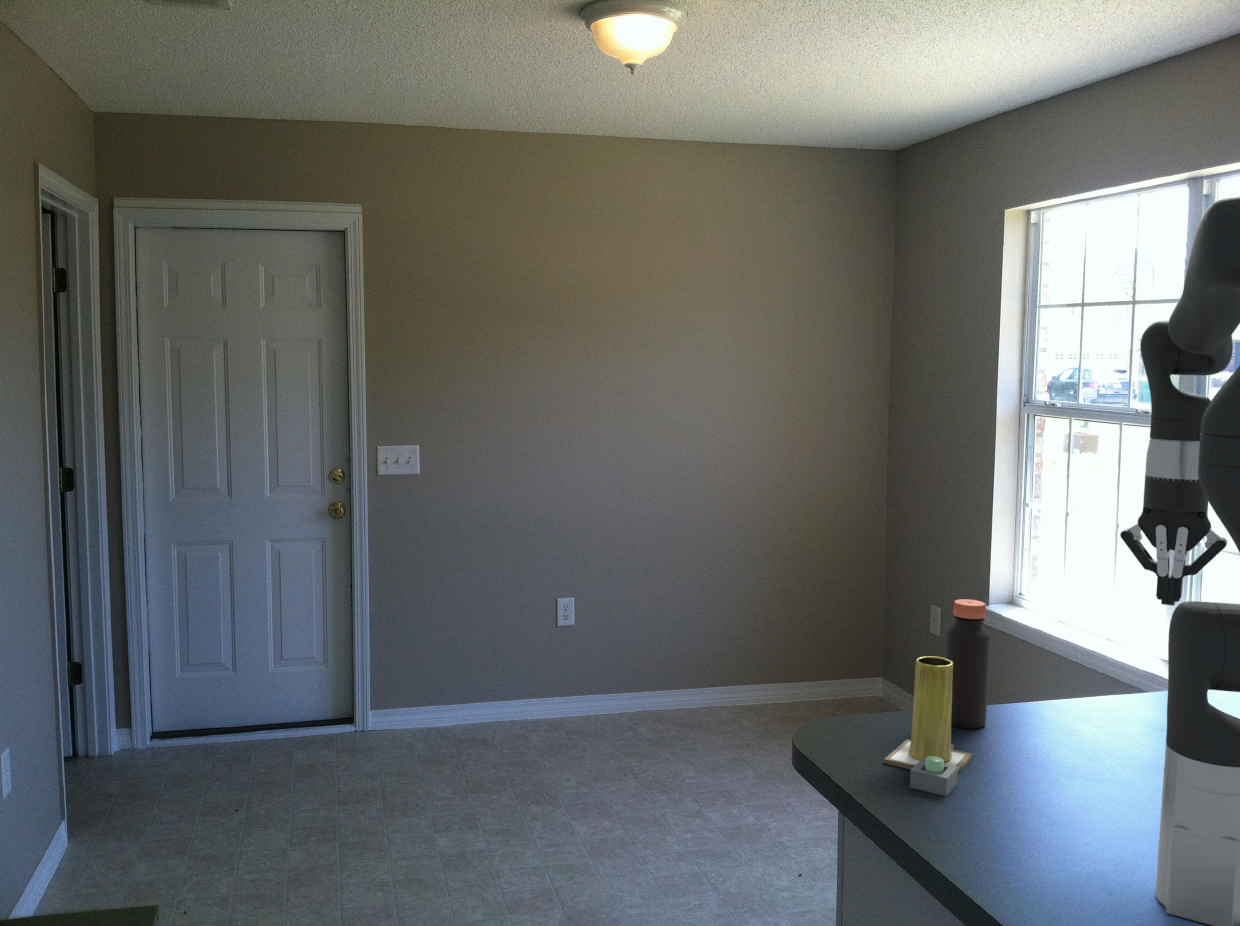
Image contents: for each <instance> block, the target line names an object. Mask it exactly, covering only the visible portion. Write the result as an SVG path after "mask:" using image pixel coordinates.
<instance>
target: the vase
mask: <svg viewBox="0 0 1240 926" xmlns="http://www.w3.org/2000/svg"><path fill="white" fill-rule="evenodd" d="M952 680H953V662H952V661H950V660H948V659H945V657H941V656H930V655H929V656H920V657H917V658H916V660H915V668H914V691H913V692H914V693H913V697H914V698H913V709H912V710H913V711H912V712H913V713H912V728H911V739H910V740H911V744H910V748H909V754H910V755H911V756H912V757H913V758H915V759H918V760H922V759H925V760H926V757H929V756H935V757H939V758H942V759H943V760H944V762H947V761H949V760H950V759H951V758H952V753H951V744H952V726H951V714H952Z"/></svg>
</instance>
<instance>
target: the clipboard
mask: <svg viewBox="0 0 1240 926" xmlns="http://www.w3.org/2000/svg"><path fill="white" fill-rule="evenodd" d="M910 744H911V739H905V740H904V741H903V742H902V743H901V744H900V745H899V746H897V747H896V748H895V749H893V751H892V752H891V753H889V754H888V755H887V756H885V758H884V759H883V764H886V765H890V766H894V767H898V768H899V767H900V768H903V769H908V770H911V769H912V768H913V767H914V766H915V765H916V764H917V763H918V762H919V761H920V760H918V759H915V758H913V757H912V756H911V755H910V754H909V748H910ZM951 753H952V758H951V759H950V760H949V761H947V762H944V764H947V765H952V766H956V767H958V774H959V773H960V772H961V771H962V770H963V769H964V768H965V767H966V766H967V765H968V763H969V762H970V761H971V760H973V757H974V754H973V753H971V752H966V751H961V750H957V749H955V748H954V744H952V743H951Z"/></svg>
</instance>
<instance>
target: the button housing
mask: <svg viewBox="0 0 1240 926" xmlns="http://www.w3.org/2000/svg"><path fill="white" fill-rule="evenodd" d="M925 763H926V760H925V759H922V760H920V761H919V762H918V763H917V764H916V765H915V766H914V767H913V768H912V769H910V775H909V776H910V777H909V788H911V789H915V790H919V791H923V792H927V793H931V794H934V795H940V796H943V797H947V796H948V795H949V794H950V793H951V792H952V790H953V789H954V788H955V787H956V786H957V785H958V774H959V773H958V767H956V766H952V765H947V764H944V768H943V774H938V773H934V772H930V771H925Z"/></svg>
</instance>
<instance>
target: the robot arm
mask: <svg viewBox="0 0 1240 926" xmlns="http://www.w3.org/2000/svg"><path fill="white" fill-rule="evenodd" d="M1185 272H1186V273H1185V279H1184V285H1183V290H1182V294H1181V296H1180V298H1179V299H1178V301H1177V303H1176V305H1175V307H1174V309H1173V311H1172V312H1171V315H1170V317H1169V318H1168V320H1157V321H1154V322H1152V323H1151V324H1149V326H1148V327H1147V328H1145V330H1144V332H1143V334H1142V336H1141V339H1140V344H1139V345H1140V346H1139V348H1140V353H1141V354H1140V355H1141V361H1142V363H1143V367H1144V370H1145V375H1146V378H1147V379H1146V380H1147V382H1148V388H1149V392H1150V394H1149V395H1150V404H1151V405H1150V406H1151V411H1150V413H1151V415H1150V418H1151V419H1150V430H1149V443H1148V447H1147V450H1146V451H1147V452H1146V459H1145V470H1144V471H1145V474H1144V486H1143V487H1144V491H1143V503H1142V512H1141V514H1140V515H1139V516H1138V518H1137V523H1136V524H1134V525H1132V526H1131V527H1129V528H1125V529H1124V530H1123V531H1121V532H1120V534H1119V535H1120V538H1121V540H1122V541H1123V542H1124V543H1125V545H1126V546H1127V547H1128V549H1129V551H1131V553H1132V554H1133V556H1134V558H1135V559H1137V561H1138V562H1139V564H1140V565H1141V566H1142V568H1143V569H1144V570H1146V571H1150V572H1152V573H1154V574H1155V575H1156V577H1157V580H1156V593H1155V595H1156V596H1155V597H1156V599H1157V600H1160V601H1161V602H1160V603H1161V605H1166V606H1175V604H1176V602H1177V603H1178V602H1179V601H1180V600H1181V598H1182V595H1183V594H1182V592H1183V579H1184V577H1187V576H1195V575H1197V574H1198V573H1199V572H1200V571H1201V570H1202V569H1204V568H1205V567H1206V566H1207V565H1208V564H1209V563H1210V562H1211V561H1212V560H1213V559H1214V558H1215V557H1216V556H1217V555H1219V554H1220V553H1221V552H1222V551H1223V550H1224V549H1225V548H1226V546H1227V545H1228V540H1227V538H1225V537H1221V536H1220V535H1218V534H1217V533H1216V532H1215V531H1214V530H1213V529H1212V522H1211V521H1210V519H1209V517H1208V511H1209V505H1210V506H1211V508H1212V510H1213V511H1214V512H1215V515H1216V516H1217V517H1218V519H1219V520H1220V522H1221V524H1222V526H1223V527H1224V528H1225V529H1226V531H1227V532H1228V535H1229V536H1230V538H1231V539H1232V541H1233V543H1234V545H1235V546H1236V549H1237V551H1238V553H1239V554H1240V365H1239V366H1238V367H1237V368H1236V369H1235V371H1233V372H1232V374H1231V375H1230V376H1229V377H1228V379H1226V381H1225V383H1223V385H1222V386H1221V387H1220V388H1219V390H1218V391H1217V392H1216V394H1215V395H1214V396H1213V398H1212V399H1210V398H1209V397H1207V396H1205V395H1202V394H1197V393H1192V392H1188V391H1185V390H1181V389H1178V388H1177V387H1176V386H1175V385H1174V384H1173V381H1172V379H1171V376H1172V375H1173V376H1174V375H1175V376H1212V375H1216V374H1219V373H1222V372H1223V371H1224V370H1226V368H1228V366H1229V364H1230V363H1231V360H1232V357H1233V350H1234V349H1233V348H1234V343H1233V334H1234V333H1235V331H1236V330H1237V328H1238V327H1239V325H1240V196H1233V197H1225V198H1221V199H1218V200H1216V201H1214V202H1213V203H1212V204H1210V205H1209V206H1208V207H1207V209H1206V210H1205V211H1204V213H1203V214H1202V216H1201V218H1200V220H1199V223H1198V226H1197V228H1196V232H1195V236H1194V239H1193V244H1192V247H1191V252H1190V256H1189V260H1188V264H1187V269H1186V271H1185ZM1141 532H1142V533H1143V534H1144V535H1145V537H1146V539H1147V540H1148V541H1149V543H1150V545H1151V546H1152V547H1154V548H1156V551H1155V552H1156V560H1154V558H1153V557H1152V555H1151V554H1150V553H1149V551H1148V550H1147V549H1146V547H1145V546H1144V544H1143V543H1142V542H1141V541H1142V539H1143V535H1142V533H1141ZM1205 537H1206V541H1205V542H1204V547H1205V548H1206V549H1205V551H1203V553H1201V554H1200V555H1199V556H1198V557H1196V559H1195V560H1193V562H1191V563H1189V564H1186V561H1187V557H1188V552H1190V551H1192V550H1193V549H1194V548H1195V547H1196V546H1197V545H1198V544H1199V543H1200V542H1201V541H1202V540H1203V539H1204V538H1205ZM1171 550H1172V551H1174V552H1173V553H1174V555H1173V562H1172V567H1171V564H1170V562H1171V560H1170V559H1171V558H1170V557H1171ZM1170 568H1171V569H1170ZM1170 570H1171V574H1170ZM1167 645H1168V646H1167V648H1168V651H1167V653H1168V654H1167V655H1168V659H1167V660H1168V661H1167V665H1168V666H1167V667H1168V668H1167V669H1168V670H1167V671H1168V672H1167V673H1168V674H1167V677H1168V678H1167V679H1168V680H1167V681H1168V682H1167V699H1166V700H1167V702H1166V703H1167V704H1166V736H1165V737H1166V739H1165V753H1164V766H1163V776H1162V777H1163V779H1162V780H1163V781H1162V791H1161V792H1162V793H1161V795H1162V796H1161V808H1160V818H1159V819H1160V822H1159V834H1158V835H1159V836H1158V849H1157V865H1156V866H1157V867H1156V880H1155V881H1156V882H1155V896H1156V899H1157V900H1158V901H1159V903H1161V904H1162V905H1163V906H1164V907H1165V913H1167V914H1169V915H1172V916H1176V917H1180V918H1184V919H1187V920H1191V921H1194V922H1199V923H1202V924H1205V925H1210V926H1240V718H1238V717H1236V716H1233V715H1231V714H1229V713H1226V712H1224V711H1222V710H1221V709H1219V708H1216V706H1213V705H1212V704H1211V703H1210V702H1209V700H1208V699H1209V698H1208V691H1220V692H1231V693H1232V692H1233V693H1240V603H1228V602H1227V603H1226V602H1211V601H1200V600H1199V601H1195V600H1194V601H1193V600H1190V601H1189V600H1188V601H1183V602H1180V603H1179V604H1178V605H1177V606H1176V607H1175V608H1174V609H1173V612H1172V614H1171V618H1170V622H1169V629H1168V644H1167Z"/></svg>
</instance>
